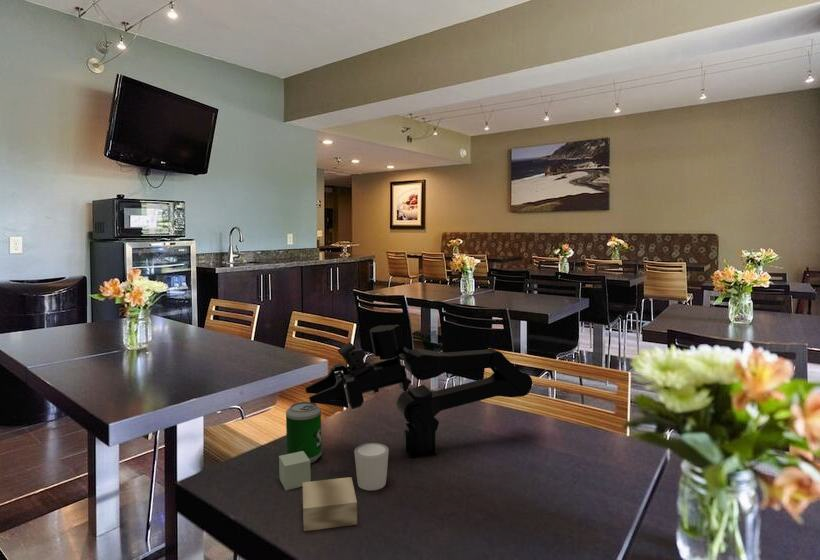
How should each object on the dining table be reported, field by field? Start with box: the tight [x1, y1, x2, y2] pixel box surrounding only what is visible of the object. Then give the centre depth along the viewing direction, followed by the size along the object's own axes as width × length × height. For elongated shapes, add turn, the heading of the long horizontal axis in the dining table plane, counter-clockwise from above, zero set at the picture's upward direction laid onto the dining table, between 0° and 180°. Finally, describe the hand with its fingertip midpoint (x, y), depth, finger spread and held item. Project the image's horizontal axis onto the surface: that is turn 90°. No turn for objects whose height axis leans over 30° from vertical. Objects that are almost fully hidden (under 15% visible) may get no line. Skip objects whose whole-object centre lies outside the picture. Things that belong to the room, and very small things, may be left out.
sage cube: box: [278, 451, 312, 491], centre depth 100 cm, size 5×5×5 cm
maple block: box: [302, 476, 358, 532], centre depth 89 cm, size 9×9×4 cm
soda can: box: [285, 401, 323, 464], centre depth 110 cm, size 8×8×12 cm
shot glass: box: [353, 442, 390, 491], centre depth 99 cm, size 7×7×7 cm
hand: (307, 395), depth 105 cm, fingers open, 9 cm apart
